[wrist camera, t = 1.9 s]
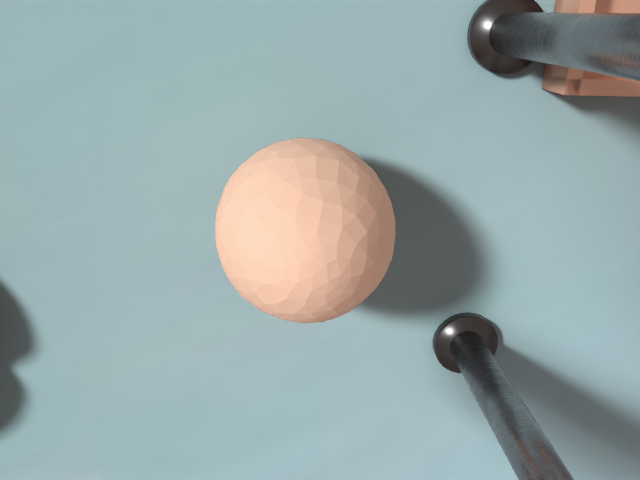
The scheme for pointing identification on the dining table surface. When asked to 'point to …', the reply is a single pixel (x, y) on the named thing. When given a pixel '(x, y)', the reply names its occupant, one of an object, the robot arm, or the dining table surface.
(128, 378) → the dining table surface
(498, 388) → the pole
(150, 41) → the dining table surface
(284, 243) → the egg
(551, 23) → the pole corner
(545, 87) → the tray
